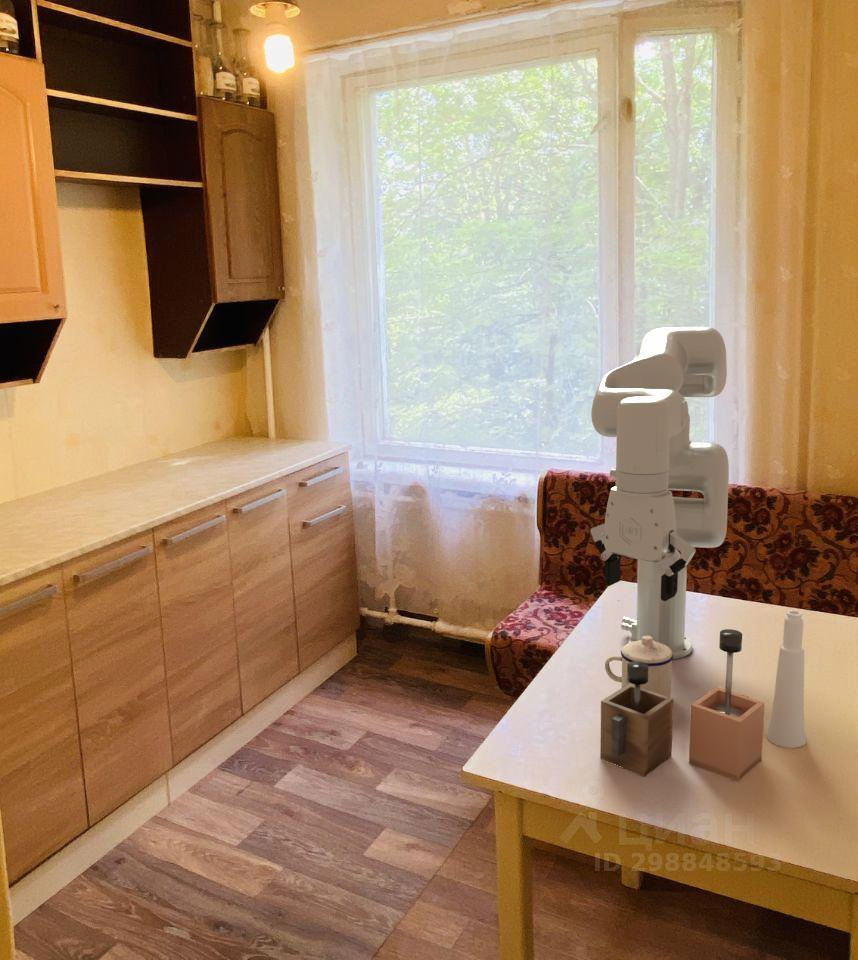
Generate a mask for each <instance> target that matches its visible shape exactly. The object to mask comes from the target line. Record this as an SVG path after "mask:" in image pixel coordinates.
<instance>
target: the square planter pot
mask: <svg viewBox="0 0 858 960" xmlns="http://www.w3.org/2000/svg"><path fill="white" fill-rule="evenodd" d="M715 705H725V689H724V688H720V687H718V686H715V687H714V688H713V689H711V690H709V692H707V693H706V694H704V695H703V696H701V697H700V698H699V699H697V700H696V701H694V702H693V703H691V704H690V717H689V718H690V722H689V747H688V748H689V749H688V750H689V751H688V764H690V765H692V766H694V767H698V768H700V769H702V770H704V771H707V772H710V773H712V774H715V775H717V776H719V777H723V778H725V779H728V780H730V781H731V782H736V783H739V782H740V781H741V780H742V779H743V778H744V777H745V776H747V774H749V773H750V772H751V771H752V770H753V769H754V768H755V767H756V766H757V765H758V764H760V763H761V762H762V756H763V755H762V753H763V738H764V721H765V718H764V717H765V706H766V705H765V702H764V701H760V700H758V699H754V698H751V697H749V696H746V695H745V694H744V695H743V694H739V693H736V692H734V691H731V705H732V706H735V707H738V708H740V709H742V710H743V711H745V713H744V714H743V715H741V716H740V717H739V718H735V717H733V716H730V715H727V714H724V713H721V712H718V711H715V710H712V709H709V708H710V707H712V706H715Z"/></svg>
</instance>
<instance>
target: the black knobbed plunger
mask: <svg viewBox="0 0 858 960" xmlns="http://www.w3.org/2000/svg"><path fill="white" fill-rule="evenodd" d="M718 644H719V647H718V648H719V650H721V651H723V652H724V653H726V664H725V666H726V668H725V669H726V670H725V689H724V690H725V705H715V706H712V707H710V708H709V709H712V710H715V711H718V712H721V713H724V714H727V715H730V716H733V717H735V718H739V717H740V716H741V715H743V714H744V713H745V711H743V710H742V709H740V708H738V707H735V706H732V705H731V692H733V690H732V689H733V687H732V686H733V672H734V671H733V669H734V664H733V663H734V654H735V653H739V652H740V653H741V651H742V649H743V648H742V647H743V633H742V632H741V631H739V630H737V629H730V628H729V629H722V630H720V631H719V643H718Z"/></svg>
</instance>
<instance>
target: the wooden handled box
mask: <svg viewBox="0 0 858 960" xmlns="http://www.w3.org/2000/svg"><path fill="white" fill-rule="evenodd" d="M634 688H635V685H632V684H628V685H626V686H624V687H623V688H622V687H621V688H619V689H618V690H616V691H615V692H613V693H611V694H610V695H609V696H606V697H605V698H604V699H602V700H601V701H600V751H599V752H600V756H599V758H601V759H600V760H603V761H605V762H607V761H608V763H610V764H612V763H613V764H612V765H614V764H616V765H615V766H617V765H618V766H617V767H619V766H621V767H623V768H622V769H624V770H626V769H627V771H628V770H629V771H628V772H631V771H632V772H631V773H633V774H635V773H636V774H635V775H638V776H640V777H643V778H646V777H647V776H648V775H650V774H651V773H652V772H653V771H655V770H656V769H657V768H658V767H660V766H661V765H663V764H665V762H666V761H667V760H669V759H670V758H672V757H673V754H672V752H673V730H674V729H673V727H674V725H673V723H674V698H672V697H671V698H670V697H667V696H664V695H661V694H658V693H655V692H652V691H650V690H647V689H644V688H641V687H640V712H637V711H634ZM621 767H620V768H621Z"/></svg>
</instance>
